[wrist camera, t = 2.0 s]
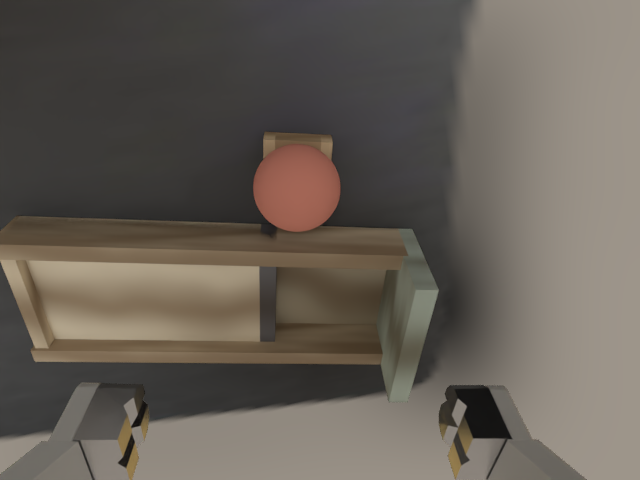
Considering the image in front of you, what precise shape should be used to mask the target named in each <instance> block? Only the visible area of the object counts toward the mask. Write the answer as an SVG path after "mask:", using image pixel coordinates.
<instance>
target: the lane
mask: <svg viewBox="0 0 640 480" xmlns="http://www.w3.org/2000/svg"><path fill="white" fill-rule="evenodd" d="M0 262H1V264H2V267H3V269H4V272H5V274H6V277H7V279H8V282H9V284H10V287H11V289H12V291H13V294H14V296H15V299H16V301H17V304H18V306H19V309H20V311H21V314H22V316H23V319H24V321H25V324H26V326H27V329H28V331H29V334H30V336H31V339H32V341H33V344H34V346H33V348H32V349H31V353H32V356H33V358H34V360H35V362H147V363H269V364H381V368H382V373H383V378H384V383H385V387H386V392H387V397H388V401H389V402H408V399H409V395H410V392H411V388H412V385H413V381H414V377H415V374H416V370H417V367H418V363H419V360H420V356H421V352H422V349H423V345H424V342H425V338H426V334H427V331H428V327H429V324H430V320H431V316H432V313H433V309H434V306H435V302H436V299H437V295H438V291H439V290H438V287H437V285H436V283H435V280H434V278H433V276H432V273H431V271H430V269H429V267H428V264H427V262H426V260H425V257H424V255H423V253H422V250H421V248H420V246H419V244H418V241H417V239H416V237H415V234H414V232H413V230H412V229H397V228H367V227H337V226H318V227H316V228H314V229H311V230H307V231H302V232H292V231H287V230H283V229H281V228H278V227H276V226H275V225H273V224H247V223H217V222H187V221H158V220H128V219H98V218H68V217H38V216H16V217H15V218H14V219H13V220H12V221H11V222H10V223H8V224H7V225H6V226H5V227H4V228H3V229H2V230H1V231H0Z"/></svg>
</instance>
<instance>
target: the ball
mask: <svg viewBox="0 0 640 480" xmlns="http://www.w3.org/2000/svg"><path fill="white" fill-rule="evenodd" d="M340 189H341V186H340V179H339V175H338V172H337V170H336V167H335V166H334V164H333V163H332V161H331V160H330V159H329V158H328V157H327V156H326V155H325V154H324V153H323V152H321V151H320V150H318V149H316V148H314V147H311V146H308V145H304V144H290V145H285V146H282V147H280V148H277V149H275V150H274V151H272V152H271V153H269V154H268V155H267V156H266V157H265V158H264V159H263V161H262V162H261V163H260V165H259V167H258V168H257V171H256V174H255V177H254V182H253V193H254V198H255V202H256V204H257V207H258V209H259V210H260V212H261V213H262V215H263V216H264V217H265V218H266V219H267V220H268V221H269V222H270V223H272V224H273V225H275V226H276V227H278V228H281V229H283V230H287V231H292V232H302V231H307V230H311V229H314V228H316V227H318V226H320V225H321V224H323V223H324V222H325V221H326V220H327V219H328V218H329V217H330V216H331V215H332V213H333V212H334V210H335V209H336V207H337V204H338V201H339V198H340Z"/></svg>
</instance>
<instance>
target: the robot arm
mask: <svg viewBox="0 0 640 480" xmlns="http://www.w3.org/2000/svg"><path fill="white" fill-rule="evenodd" d="M144 395H145V390H144V386H143V384H117V383H80V384H79V385H78V386H77V388H76V389H75V390H74V392H73V394H72V396H71V398H70V400H69V402H68V404H67V406H66V408H65V410H64V412H63V414H62V415H61V417H60V419H59V421H58V423H57V425H56V427H55V429H54V431H53V433H52V435H51V437H50V439H49V440H48V441H42V442H41V443H39V444H38V445H37V446H35V447H34V448H33V449H32V450H30V451H29V452H28V453H26V454H25V455H24V456H23V457H21V458H20V459H19V460H18V461H16V462H15V463H14V464H13V465H11V466H10V467H9V468H7V469H6V470H5V471H4V472H2V473H1V474H0V480H132V478H133V475H134V472H135V469H136V465H137V462H138V459H139V456H138V452H137V447H138V446H139V445H141V444H142V443H143V442H144V440H145V437H146V433H147V430H148V423H149V408H148V404H147V403H146V402H145V401H143V398H144ZM445 395H446V399H447V401H446V402H444V403H443V404H442V405H441V407H440V411H439V427H440V432H441V435H442V439H443V440H444V442H445V443H447V444H448V445H449V446H450V447H451V448H450V451H449V454H448V458H449V461H450V464H451V468H452V471H453V474H454V477H455V480H587V479H585V478H584V477H583V476H582V475H580V474H579V473H578V472H577V471H576V470H575V469H573V468H572V467H571V466H570V465H568V464H567V463H566V462H565V461H563V460H562V459H561V458H560V457H559V456H557V455H556V454H555V453H554V452H553V451H551V450H550V449H549V448H548V447H547V446H545V445H544V444H543V443H542V442H540V441H539V440H536V439H532V437H531V435H530V433H529V431H528V429H527V427H526V425H525V423H524V421H523V419H522V417H521V415H520V413H519V411H518V409H517V407H516V406H515V403H514V401H513V399H512V397H511V396H510V393H509V391H508V390H507V388H506V387H505V386H484V385H450V386H449V387H448V388H447V389H446V392H445Z"/></svg>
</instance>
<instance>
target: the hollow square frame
mask: <svg viewBox="0 0 640 480" xmlns="http://www.w3.org/2000/svg"><path fill="white" fill-rule="evenodd" d="M290 144H304V145H308V146H311V147H314V148H316V149H318V150H320V151H321V152H323V153H324V154H325V155H326V156H327V157H328V158H329V159H330V160H331V157H332V146H333V142H332V137H331V135H320V134H300V133H280V132H265V133H264V139H263V159H264V158H265V157H266V156H267V155H268V154H269V153H271V152H272V151H274V150H275V149H277V148H280V147H282V146H285V145H290Z"/></svg>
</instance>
